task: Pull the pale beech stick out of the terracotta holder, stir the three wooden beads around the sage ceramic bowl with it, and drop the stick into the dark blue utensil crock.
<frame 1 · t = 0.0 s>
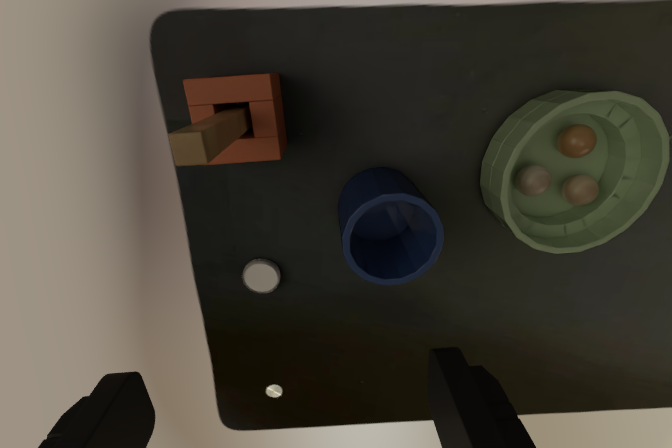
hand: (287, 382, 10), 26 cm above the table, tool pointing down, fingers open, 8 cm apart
crock: (378, 206, 36), on the table
bead b: (576, 141, 32), point 2 cm above the table, touching bowl
holder: (248, 112, 32), on the table
grey bottle cap: (262, 273, 39), on the table
bead c: (532, 180, 33), point 2 cm above the table, touching bowl
bead a: (579, 189, 34), point 2 cm above the table, touching bowl
stick: (227, 125, 25), in the holder
bowl: (549, 165, 35), on the table
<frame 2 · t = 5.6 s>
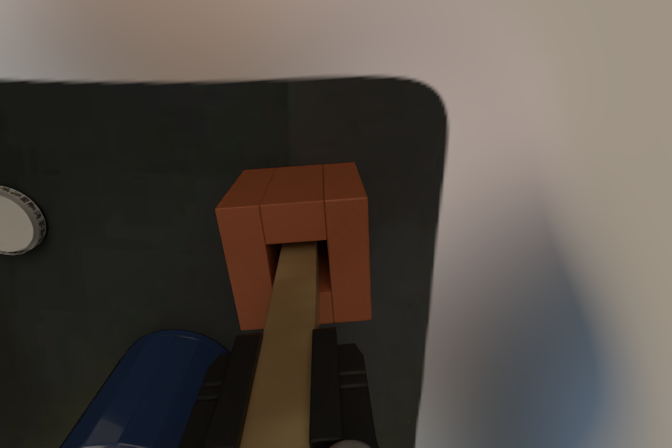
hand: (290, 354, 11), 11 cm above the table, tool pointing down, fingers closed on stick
crock: (182, 374, 26), on the table
holder: (304, 216, 21), on the table
grey bottle cap: (10, 217, 20), on the table
stick: (297, 296, 14), in the holder, touching gripper
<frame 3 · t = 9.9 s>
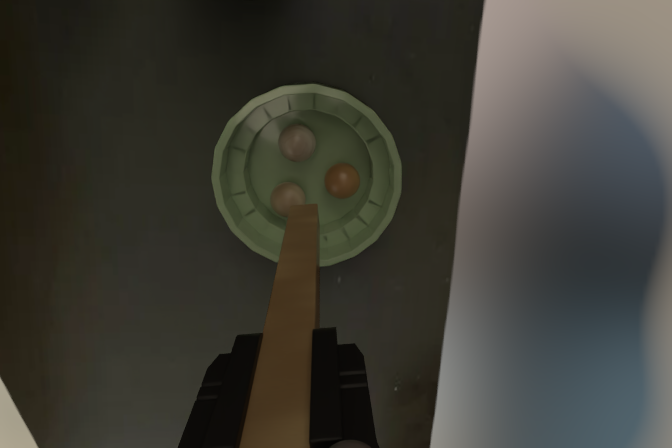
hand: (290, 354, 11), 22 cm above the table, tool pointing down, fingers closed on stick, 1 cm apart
bead b: (342, 180, 30), point 2 cm above the table, touching bowl
bead c: (297, 143, 28), point 2 cm above the table, touching bowl
bead a: (288, 199, 30), point 2 cm above the table, touching bowl
stick: (297, 295, 14), point 19 cm above the table, touching gripper
bowl: (309, 168, 31), on the table
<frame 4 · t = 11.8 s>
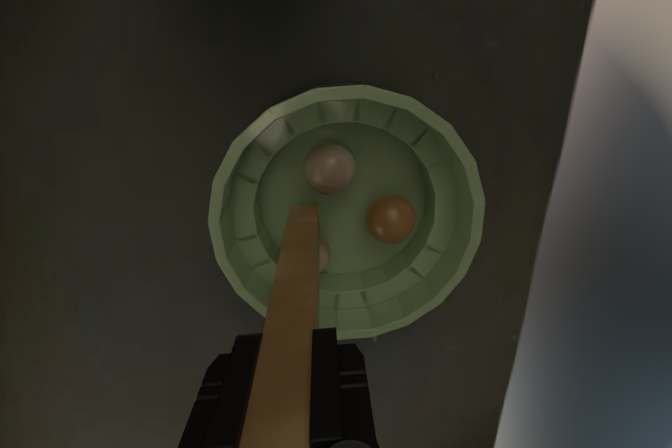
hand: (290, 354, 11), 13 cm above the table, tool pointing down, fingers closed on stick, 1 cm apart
bead b: (390, 219, 21), point 2 cm above the table, touching bowl
bead c: (329, 168, 20), point 2 cm above the table, touching bowl
bead a: (306, 252, 22), point 2 cm above the table, tilted 30°, touching bowl
stick: (297, 295, 14), point 10 cm above the table, touching gripper
bowl: (342, 199, 23), on the table
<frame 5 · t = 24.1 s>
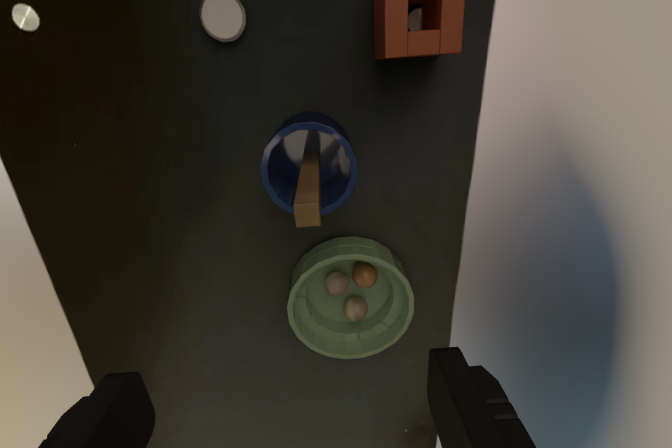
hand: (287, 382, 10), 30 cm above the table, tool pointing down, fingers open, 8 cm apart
crock: (311, 152, 37), on the table
bead b: (364, 275, 41), point 2 cm above the table, tilted 55°, touching bowl
holder: (407, 21, 33), on the table
grey bottle cap: (224, 17, 32), on the table
bead c: (337, 283, 42), point 2 cm above the table, tilted 28°, touching bowl
bead a: (355, 308, 43), point 2 cm above the table, tilted 82°, touching bowl
stick: (310, 179, 30), in the crock, point 9 cm above the table
bowl: (348, 285, 44), on the table
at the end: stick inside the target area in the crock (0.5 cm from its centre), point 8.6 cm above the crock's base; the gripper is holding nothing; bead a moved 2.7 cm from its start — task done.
